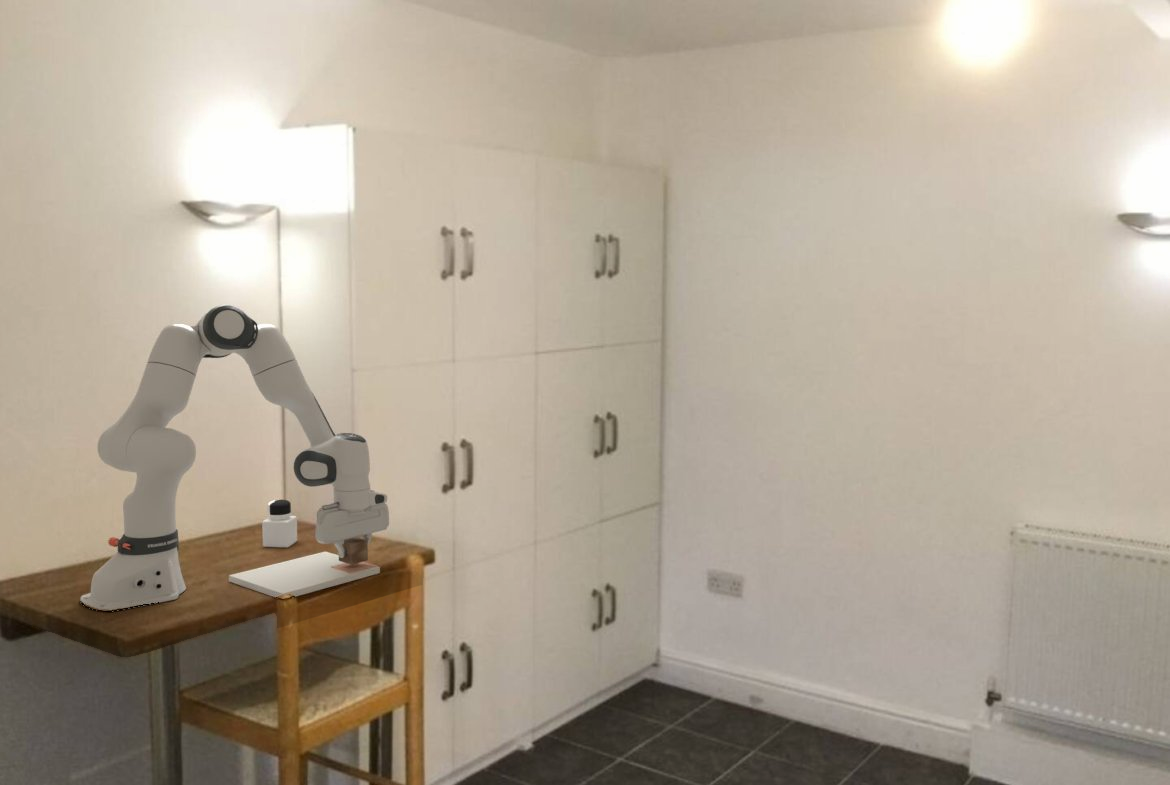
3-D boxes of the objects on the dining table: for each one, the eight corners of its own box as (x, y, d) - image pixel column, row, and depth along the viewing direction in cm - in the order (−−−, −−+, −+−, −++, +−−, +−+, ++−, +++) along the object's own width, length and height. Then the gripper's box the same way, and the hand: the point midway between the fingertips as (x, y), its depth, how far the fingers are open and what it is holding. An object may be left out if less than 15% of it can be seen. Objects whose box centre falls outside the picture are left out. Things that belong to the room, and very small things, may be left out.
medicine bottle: (297, 541, 294) (296, 498, 292) (288, 547, 287) (286, 504, 285) (272, 540, 294) (271, 497, 293) (262, 547, 287) (261, 503, 286)
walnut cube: (351, 564, 260) (351, 544, 260) (338, 560, 263) (338, 541, 263) (367, 560, 264) (367, 540, 263) (355, 556, 267) (354, 537, 267)
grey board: (282, 600, 242) (282, 592, 242) (229, 581, 256) (228, 574, 256) (379, 572, 264) (379, 566, 264) (325, 557, 278) (325, 550, 278)
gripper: (325, 508, 252) (326, 565, 254) (392, 494, 268) (393, 548, 269) (309, 504, 256) (310, 560, 258) (376, 490, 271) (377, 543, 273)
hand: (353, 554), depth 264 cm, fingers closed on walnut cube, 5 cm apart
